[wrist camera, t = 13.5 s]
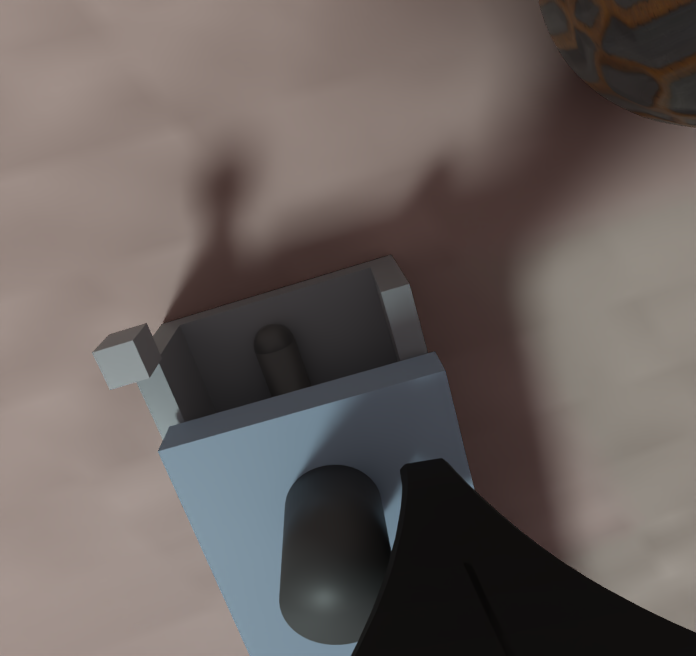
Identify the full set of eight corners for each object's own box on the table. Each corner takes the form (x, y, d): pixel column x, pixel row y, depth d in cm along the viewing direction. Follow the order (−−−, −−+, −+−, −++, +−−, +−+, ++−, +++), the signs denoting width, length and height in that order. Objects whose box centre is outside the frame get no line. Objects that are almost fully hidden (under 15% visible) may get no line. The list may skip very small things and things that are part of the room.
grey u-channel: (539, 765, 21) (586, 896, 17) (367, 811, 21) (379, 950, 18) (394, 220, 14) (423, 252, 11) (145, 295, 15) (92, 352, 11)
